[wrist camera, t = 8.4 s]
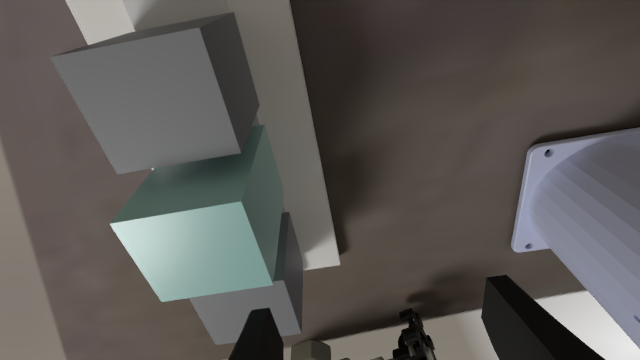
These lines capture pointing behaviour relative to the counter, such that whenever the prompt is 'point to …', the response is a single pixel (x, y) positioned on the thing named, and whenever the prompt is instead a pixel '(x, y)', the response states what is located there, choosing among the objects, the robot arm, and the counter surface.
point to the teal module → (207, 223)
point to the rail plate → (274, 106)
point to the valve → (410, 356)
